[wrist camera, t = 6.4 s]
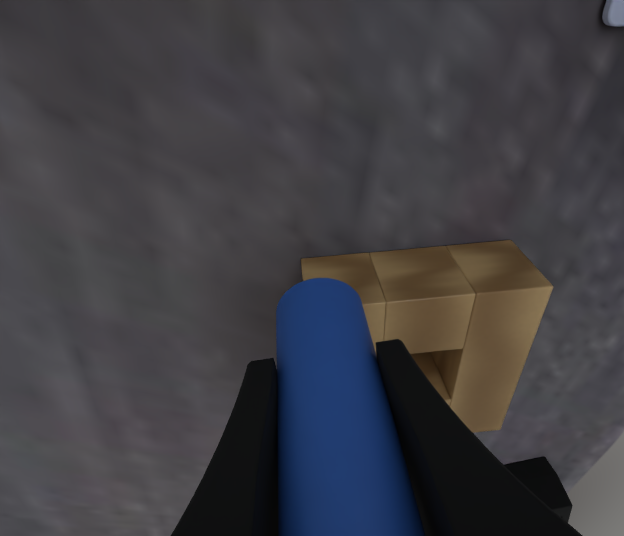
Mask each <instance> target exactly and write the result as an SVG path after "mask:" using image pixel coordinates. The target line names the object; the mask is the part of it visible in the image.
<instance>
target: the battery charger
mask: <svg viewBox="0 0 624 536" xmlns="http://www.w3.org/2000/svg"><path fill="white" fill-rule="evenodd" d="M504 466H505V467H506V468H507V469H508V470H509V471H510V472H511V473H512V474H513V475H514V476H515V477H516V478H518V479H519V480H520V481H521V482H522V483H523V484H524V485H525V486H526V487H527V488H528V489H529V490H530V491H531V492H533V493H534V494H535V495H536V496H537V497H538V498H539V499H540V500H541V501H543V502H544V503H545V504H546V505H547V506H548V507H550V508H551V509H552V510H553V511H554V512H555V513H557V514H558V515H559V516H560V517H561V518H562V519H564V520H565V521H566V522H567V523H568V520H569V516H570V513H571V509H572V504H571V501H570V499H569V497H568V495H567V493H566V491H565V489H564V487H563V485H562V483H561V481H560V479H559V477H558V475H557V473H556V472H555V471H554V469H553V468H552V466H551V465H550V464H549V462H548V461H547V459H546V458H545V457H542V458H537V459H532V460H527V461H523V462H518V463H513V464H508V465H504Z"/></svg>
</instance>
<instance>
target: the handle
mask: <svg viewBox="0 0 624 536" xmlns="http://www.w3.org/2000/svg"><path fill="white" fill-rule="evenodd" d="M276 336H277V382H278V414H277V429H278V531H279V536H426V535H425V531H424V528H423V524H422V520H421V517H420V513H419V509H418V506H417V502H416V499H415V495H414V491H413V488H412V484H411V480H410V477H409V473H408V469H407V466H406V462H405V458H404V455H403V451H402V447H401V444H400V440H399V436H398V433H397V429H396V425H395V422H394V418H393V414H392V411H391V407H390V404H389V401H388V397H387V394H386V391H385V387H384V384H383V380H382V376H381V373H380V369H379V365H378V362H377V357H376V352H375V349H374V345H373V341H372V338H371V334H370V330H369V327H368V323H367V319H366V316H365V312H364V308H363V305H362V301H361V298H360V296H359V295H358V293H357V292H356V291H355V290H354V289H353V288H352V287H351V286H349V285H348V284H346V283H344V282H342V281H340V280H337V279H332V278H313V279H308V280H305V281H302V282H300V283H298V284H296V285H294V286H293V287H291V288H290V289H289V290H288V291H287V292H286V293H285V294H284V295H283V296H282V298H281V299H280V301H279V303H278V306H277V310H276Z"/></svg>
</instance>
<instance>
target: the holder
mask: <svg viewBox="0 0 624 536" xmlns="http://www.w3.org/2000/svg"><path fill="white" fill-rule="evenodd" d="M301 269H302V280H303V281H305V280H308V279H313V278H332V279H337V280H340V281H342V282H344V283H346V284H348V285H349V286H351V287H352V288H353V289H354V290H355V291H356V292H357V293H358V295H359V296H360V298H361V301H362V305H363V308H364V312H365V316H366V319H367V323H368V327H369V330H370V334H371V338H372V341H373V345H374V349H375V352H376V342H381V341H388V340H394V339H399V340H401V341H403V343H404V345H405V347H406V348H407V350H408V351H409V353H410V354H411V356H412V358H413V359H414V360H415V362H416V363H417V365H418V366H419V368H420V369H421V370H422V372H423V373H424V375H425V376H426V377H427V379H428V380H429V381H430V383H431V384H432V385H433V387H434V388H435V389H436V390H437V392H438V393H439V394H440V395H441V397H442V398H443V399H444V400H445V401H446V403H447V404H448V405H449V406H450V408H451V409H452V410H453V411H454V412H455V414H456V415H457V416H458V417H459V418H460V419H461V420H462V422H463V423H464V424H465V425H466V426H467V427H468V428H469V429H470V430H471V432H472V433H473V432H483V431H492V430H500V429H501V426H502V423H503V421H504V418H505V415H506V413H507V410H508V407H509V405H510V402H511V399H512V397H513V394H514V391H515V388H516V386H517V383H518V380H519V378H520V375H521V372H522V370H523V367H524V364H525V362H526V359H527V356H528V354H529V351H530V348H531V346H532V343H533V340H534V338H535V335H536V332H537V330H538V327H539V324H540V322H541V319H542V316H543V314H544V311H545V308H546V306H547V303H548V300H549V297H550V295H551V292H552V289H553V285H552V284H551V283H550V282H549V281H548V280H547V279H546V278H545V277H544V276H543V274H542V273H541V272H540V271H539V270H538V269H537V268H536V267H535V266H534V265H533V263H532V262H531V261H530V260H529V259H528V258H527V257H526V256H525V255H524V254H523V252H522V251H521V250H520V249H519V248H518V247H517V246H516V245H515V244H514V243H513V241H512V240H503V241H492V242H481V243H470V244H459V245H448V246H446V247H445V246H436V247H425V248H415V249H404V250H393V251H382V252H371V253H357V254H346V255H335V256H324V257H313V258H302V259H301Z"/></svg>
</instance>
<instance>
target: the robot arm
mask: <svg viewBox="0 0 624 536" xmlns="http://www.w3.org/2000/svg"><path fill="white" fill-rule="evenodd" d="M602 18H603V22H604V23H605V24H606V25H609V26H615V27H619V26H624V0H606V3H605V7H604V10H603V15H602ZM376 357H377V362H378V365H379V369H380V373H381V376H382V380H383V384H384V387H385V391H386V394H387V397H388V401H389V404H390V407H391V411H392V414H393V418H394V422H395V425H396V429H397V433H398V436H399V440H400V444H401V447H402V451H403V455H404V458H405V462H406V466H407V469H408V473H409V477H410V480H411V484H412V488H413V491H414V495H415V499H416V502H417V506H418V509H419V513H420V517H421V520H422V524H423V528H424V531H425V535H426V536H582V535H581V534H580V533H579V532H577V531H576V530H575V529H574V528H573V527H572V526H570V525H569V524H568V523H567V522H566V521H565V520H564V519H562V518H561V517H560V516H559V515H558V514H557V513H555V512H554V511H553V510H552V509H551V508H550V507H548V506H547V505H546V504H545V503H544V502H543V501H541V500H540V499H539V498H538V497H537V496H536V495H535V494H534V493H533V492H531V491H530V490H529V489H528V488H527V487H526V486H525V485H524V484H523V483H522V482H521V481H520V480H519V479H518V478H516V477H515V476H514V475H513V474H512V473H511V472H510V471H509V470H508V469H507V468H506V467H505V466H504V465H503V464H502V463H501V462H500V461H499V460H498V459H497V458H496V457H495V456H494V455H493V454H492V453H491V452H490V451H489V450H488V449H487V448H486V447H485V446H484V445H483V444H482V442H481V441H480V440H479V439H478V438H477V437H476V436H475V435H474V434H473V433H472V432H471V430H470V429H469V428H468V427H467V426H466V425H465V424H464V423H463V422H462V420H461V419H460V418H459V417H458V416H457V415H456V414H455V412H454V411H453V410H452V409H451V408H450V406H449V405H448V404H447V403H446V401H445V400H444V399H443V398H442V397H441V395H440V394H439V393H438V392H437V390H436V389H435V388H434V387H433V385H432V384H431V383H430V381H429V380H428V379H427V377H426V376H425V375H424V373H423V372H422V370H421V369H420V368H419V366H418V365H417V363H416V362H415V360H414V359H413V358H412V356H411V354H410V353H409V351H408V350H407V348H406V347H405V345H404V343H403V341H401V340H399V339H394V340H388V341H381V342H376ZM277 414H278V382H277V369H276V366H275V362H274V358H270V359H263V360H257V361H251V362H250V363H249V364H248V366H247V369H246V373H245V376H244V379H243V383H242V386H241V389H240V391H239V394H238V397H237V400H236V403H235V405H234V408H233V411H232V413H231V416H230V418H229V420H228V423H227V425H226V428H225V430H224V433H223V435H222V437H221V440H220V442H219V444H218V447H217V449H216V451H215V453H214V455H213V457H212V459H211V461H210V463H209V466H208V468H207V470H206V472H205V474H204V476H203V478H202V480H201V482H200V484H199V486H198V488H197V490H196V492H195V494H194V496H193V497H192V499H191V501H190V503H189V505H188V507H187V508H186V510H185V512H184V514H183V516H182V517H181V519H180V521H179V523H178V524H177V526H176V528H175V529H174V531H173V533H172V534H171V536H279V531H278V429H277Z"/></svg>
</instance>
